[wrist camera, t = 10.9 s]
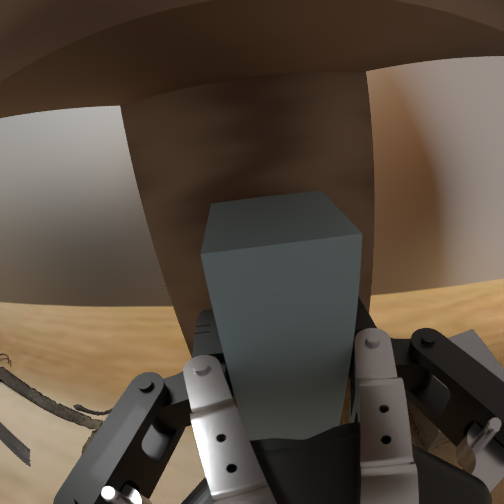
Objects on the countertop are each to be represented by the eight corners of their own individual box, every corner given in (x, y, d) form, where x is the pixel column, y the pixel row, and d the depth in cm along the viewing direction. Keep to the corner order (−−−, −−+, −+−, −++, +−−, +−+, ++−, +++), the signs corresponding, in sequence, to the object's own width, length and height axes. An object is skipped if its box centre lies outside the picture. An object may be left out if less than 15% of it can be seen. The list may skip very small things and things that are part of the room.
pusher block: (254, 465, 13) (200, 254, 7) (250, 406, 16) (211, 203, 11) (333, 453, 13) (362, 233, 7) (318, 396, 16) (321, 190, 11)
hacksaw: (-41, 390, 17) (-49, 380, 17) (11, 336, 26) (5, 326, 25) (108, 528, 10) (95, 521, 9) (181, 403, 18) (174, 390, 18)
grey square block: (425, 453, 12) (439, 432, 11) (391, 379, 17) (398, 353, 16) (502, 415, 12) (519, 390, 11) (462, 355, 17) (472, 328, 16)
